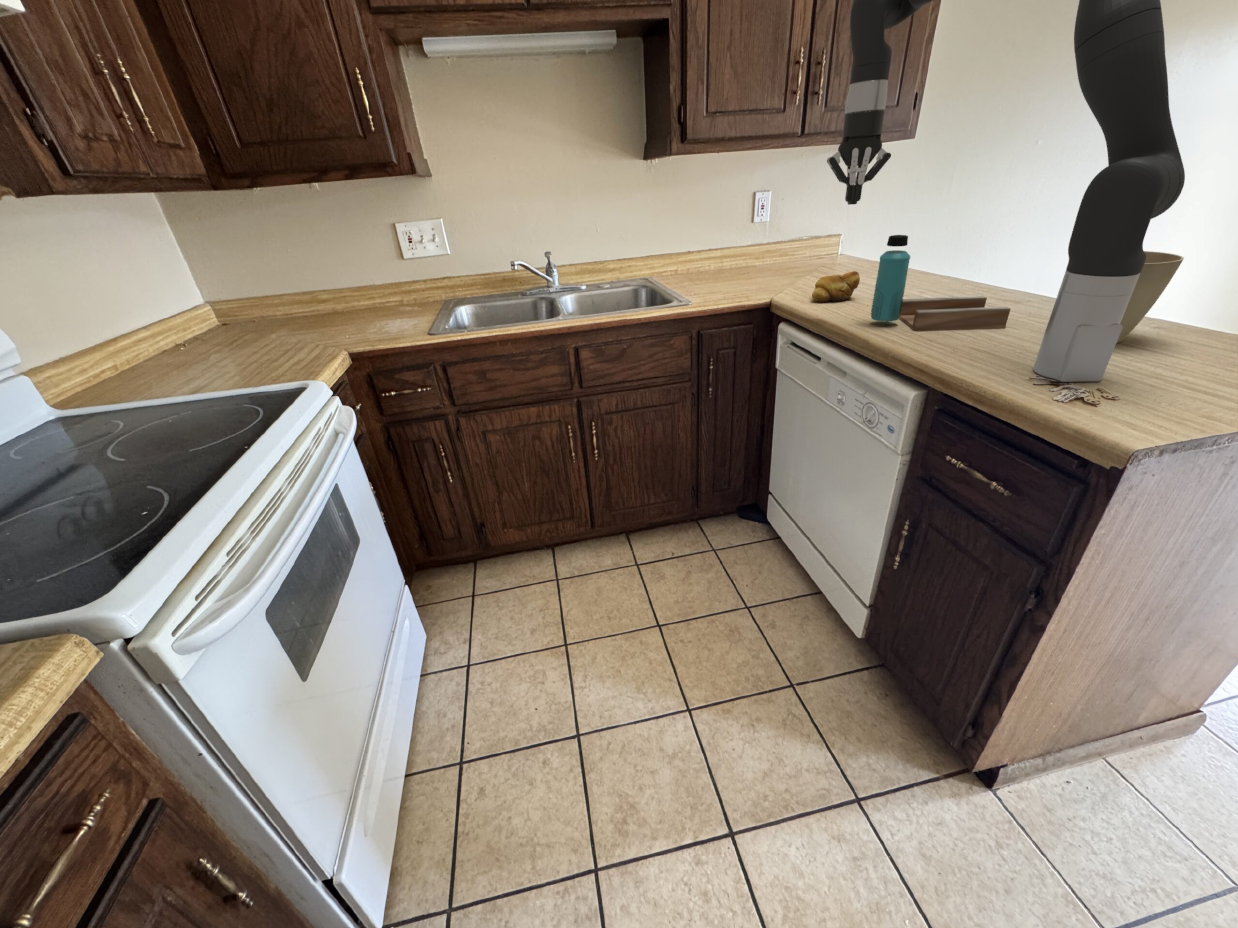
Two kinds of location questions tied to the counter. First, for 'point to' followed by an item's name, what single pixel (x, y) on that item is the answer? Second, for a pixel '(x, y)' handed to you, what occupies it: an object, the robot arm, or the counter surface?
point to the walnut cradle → (952, 314)
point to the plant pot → (1149, 288)
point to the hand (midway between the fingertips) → (852, 204)
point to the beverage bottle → (891, 281)
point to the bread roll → (836, 287)
